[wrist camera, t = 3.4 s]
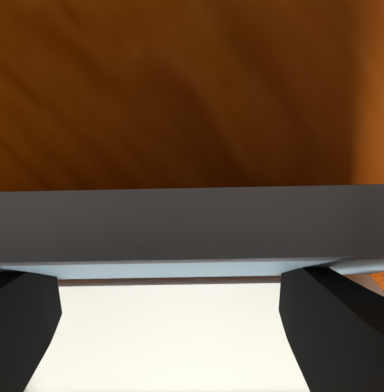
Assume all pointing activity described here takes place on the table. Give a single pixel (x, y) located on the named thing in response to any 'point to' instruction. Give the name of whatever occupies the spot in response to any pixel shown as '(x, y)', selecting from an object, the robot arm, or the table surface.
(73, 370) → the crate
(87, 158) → the table surface
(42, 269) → the panel
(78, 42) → the table surface
